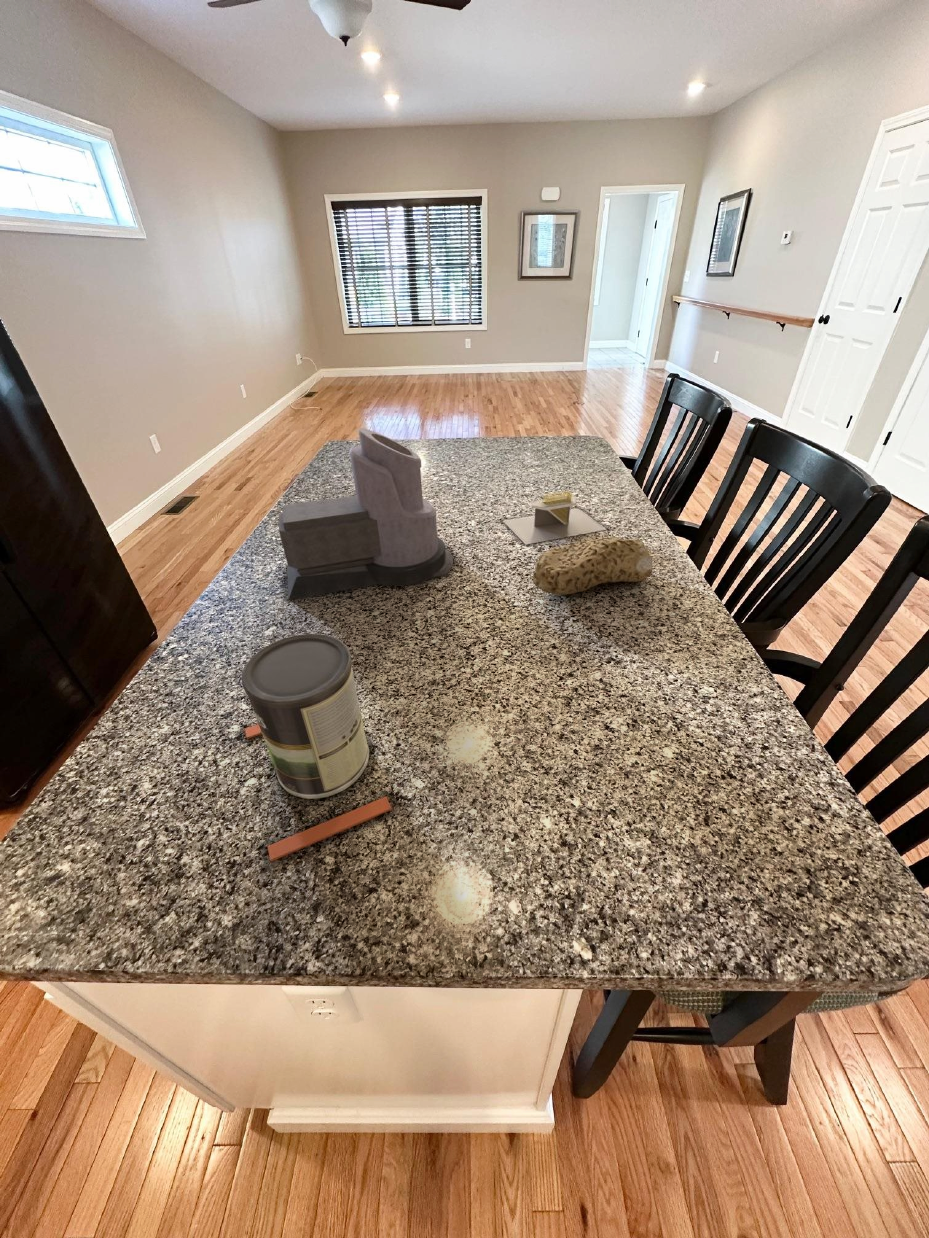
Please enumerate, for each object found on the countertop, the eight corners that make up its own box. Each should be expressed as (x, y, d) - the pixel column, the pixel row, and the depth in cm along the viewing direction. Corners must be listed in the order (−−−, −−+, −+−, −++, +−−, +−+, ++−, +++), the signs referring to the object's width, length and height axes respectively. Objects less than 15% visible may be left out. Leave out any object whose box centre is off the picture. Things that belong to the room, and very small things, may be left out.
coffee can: (275, 811, 53) (236, 713, 44) (277, 737, 61) (244, 643, 53) (376, 786, 55) (356, 688, 47) (364, 718, 63) (346, 625, 55)
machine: (440, 537, 103) (432, 409, 89) (463, 575, 91) (458, 433, 77) (286, 562, 97) (252, 428, 83) (288, 606, 84) (248, 457, 70)
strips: (270, 861, 48) (270, 860, 48) (245, 730, 62) (244, 728, 62) (391, 809, 52) (391, 808, 52) (342, 697, 66) (342, 695, 66)
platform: (606, 529, 104) (611, 498, 100) (525, 544, 100) (527, 513, 96) (577, 507, 113) (580, 479, 110) (502, 520, 109) (502, 491, 105)
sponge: (626, 565, 94) (522, 551, 91) (645, 530, 89) (534, 514, 86) (646, 615, 85) (531, 601, 82) (668, 580, 80) (545, 564, 77)
